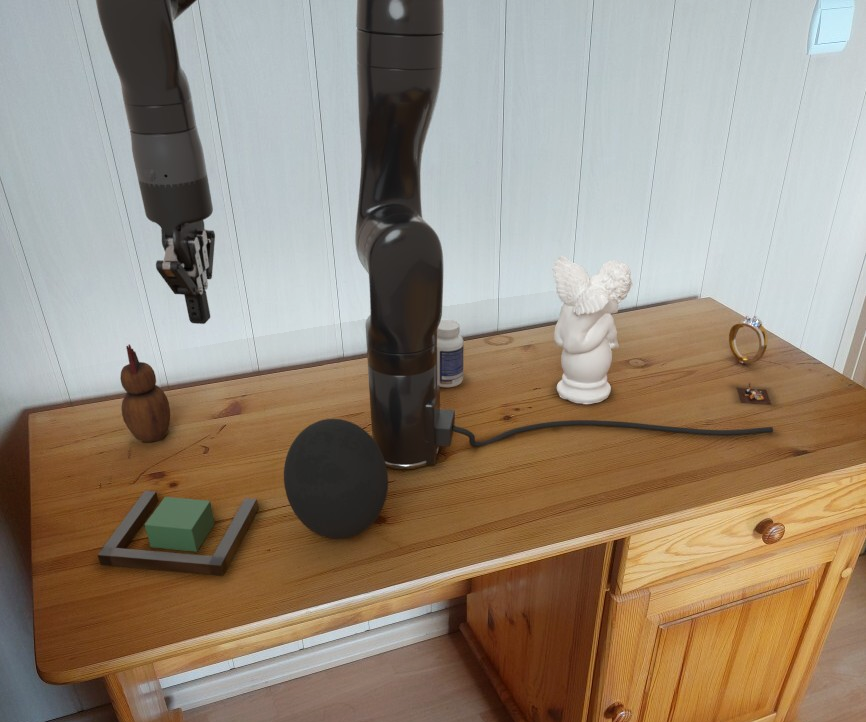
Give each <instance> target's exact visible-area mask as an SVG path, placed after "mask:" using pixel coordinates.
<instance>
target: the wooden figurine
mask: <svg viewBox="0 0 866 722" xmlns="http://www.w3.org/2000/svg"><path fill="white" fill-rule="evenodd" d="M125 349H126V352H127V358H128V364H126V365H124V366H123V367H122V369H121V370H120V376H119V377H120V383H121V386H122V389H123V390H124V391H125V392H126V393H125V395H124V397H123V399H122V401H121V416H122V419H123V422H124V424H125V426H126V428H127V429H128V431H129V432H130V433H131V434H132V436H134V438H135V439H136V440H138V441H141V442H144V443H153V442H156V441H159V440H161V439H162V438H164V437H165V436H166V435H167V434H168V432H169V429H170V423H171V407H170V401H169V399H168V397H167V394H165V392H164V390H163V388H161V387H160V386H159V385H157V377H156V373H155V371H154V369H153V367H152V366H151V365H150V364H149V363H148V362H147V363H146V362H142V361H140V360H139V357H138V355H137V353H136V351H135V350H134V348H132V346H131V344H130V343H129V344H128V345H126V348H125Z"/></svg>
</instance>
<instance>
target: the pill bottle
mask: <svg viewBox="0 0 866 722" xmlns="http://www.w3.org/2000/svg"><path fill="white" fill-rule="evenodd" d="M460 328H461V327H460V323H459V322H458V321H456V320H453V319H441V321H440V324H439V326H438V329H437V385H439V386H440V388H446V389H448V388H454V387H457V386H459V385H461V384H462V383H463V381H464V350H465V349H464V348H465V347H464V345H465V344H464V338H463V337H462V336H461V335H460V332H461V331H460Z"/></svg>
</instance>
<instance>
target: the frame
mask: <svg viewBox="0 0 866 722" xmlns="http://www.w3.org/2000/svg"><path fill="white" fill-rule="evenodd" d="M159 501H160V500H159V497H158V493H157V491H156V490H144V491H143V492H142V494H141V495H140V496H139V498H138V499H137V501H136V502H135V503H134V505H133V506H132V507H131V509H130V510H129V511H128V512H127V514H126V515H125V517H124V518H123V520H122V521H121V522H120V523H119V525H118V526H117V528H116V529H115V530H114V532H113V533H112V535H111V536H110V537H109V538H108V540H107V541H106V542H105V544H104V545H103V547H101V549H100V550H99V552H98V553H97V558H98V562H99V564H100V566H104V567H105V566H107V567H116V568H117V567H119V568H127V569H128V568H129V569H139V570H140V569H141V570H153V571H163V572H173V573H174V572H175V573H184V574H185V573H187V574H197V575H209V576H220V577H223V576H224V575H225V573H226V572H227V569H228V567H229V565H230V563H231V562H232V560H233V558H234V556H235V554H236V552H237V550H238V548H239V546H240V544H241V543H242V540H243V539H244V537H245V536H246V534H247V531H248V529H249V528H250V526H251V524H252V522H253V520H254V518H255V516H256V514H257V512H258V511H259V505H258V499H257V498H249V497H245V498H244V499H243V500H242V503H241V505H240V506H239V508H238V510H237V512H236V514H235V515H234V517H233V518H232V521H231V522H230V524H229V526H228V528H227V529H226V531H225V533H224V535H223V537H222V538H221V540H220V542H219V543H218V545H217V547H216V549H215V551H214V553H213V555H205V554H204V555H203V554H190V553H181V552H168V551H157V550H147V549H135V548H127V547H128V546H129V544H130V543H131V542H132V540H133V539H134V538H135V536H136V535H137V533H138V532H139V530H140V529H141V527H142V526H143V525H144V524H145V523H146V521H147V520H148V517H149V516H150V515H151V514H152V513H153V510H154V509H155V508H156V507H157V505H158V503H159Z"/></svg>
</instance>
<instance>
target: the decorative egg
mask: <svg viewBox="0 0 866 722" xmlns="http://www.w3.org/2000/svg"><path fill="white" fill-rule="evenodd" d="M283 484H284V485H283V486H284V491H285V494H286V498H287V501H288V503H289V506H290V508H291V509H292V511H293V513H294V514H295V516H296V517H297V519H298V520H299V521H300V522H301V523H302V525H304V526H305V527H306V528H307V529H309V530H310V531H312V533H313V532H314V533H315V534H317V535H319V536H321V537H324V538H326V539H327V538H328V539H331V540H344V539H349V538H350V539H351V538H354V537H356V536H358V535H360V534H362V533H364V532H365V531H366V530H368V529H369V528H370V527H371V526H372V525H373V524H374V523H375V522H376V521H377V519H378V518H379V516H380V514H381V513H382V511H383V509H384V506H385V503H386V500H387V496H388V489H389V473H388V467H386V463H385V460H384V457H383V454H382V452H381V450H380V448H379V447H378V445H377V443H376V442H375V441H374V439H373V438H372V435H371V434H370V433H368V432H367V431H366V430H365V429H364V428H362V427H361V426H360V425H358V424H356V423H354V422H352V421H349V420H346V419H341V418H326V419H321V420H318V421H316V422H313V423H312V424H309V425H308V426H307V427H305V428H304V429H302V431H300V433H299V434H297V436H296V437H295V438H294V440H293V442H292V443H291V444H290V447H289V449H288V452H287V454H286V458H285V461H284V467H283Z"/></svg>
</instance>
